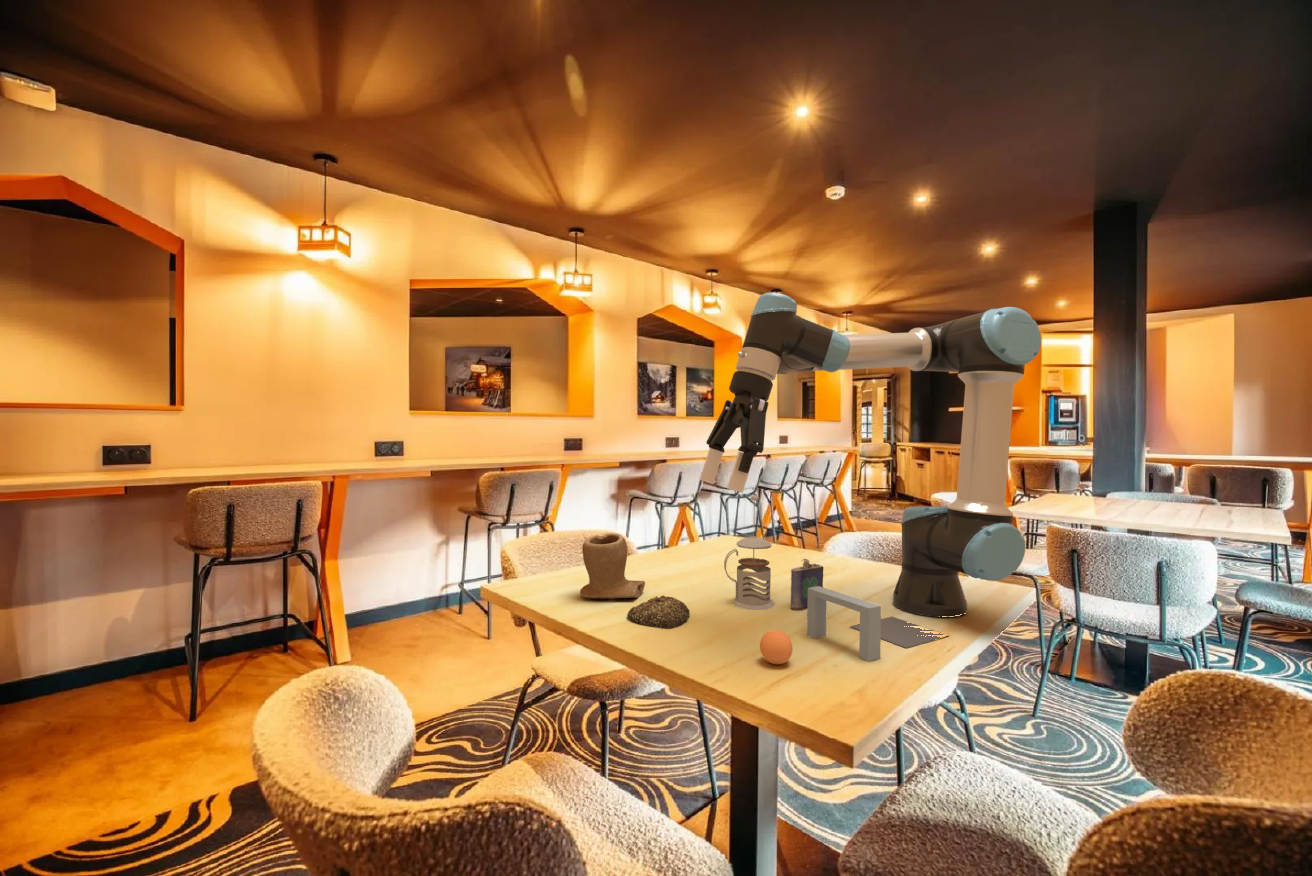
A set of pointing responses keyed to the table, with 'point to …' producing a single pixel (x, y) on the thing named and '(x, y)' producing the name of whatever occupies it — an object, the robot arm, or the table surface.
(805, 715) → the table surface
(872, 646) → the bridge
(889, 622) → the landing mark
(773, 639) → the ball
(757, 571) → the french press
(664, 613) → the bread roll
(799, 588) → the flask
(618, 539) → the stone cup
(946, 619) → the table surface
